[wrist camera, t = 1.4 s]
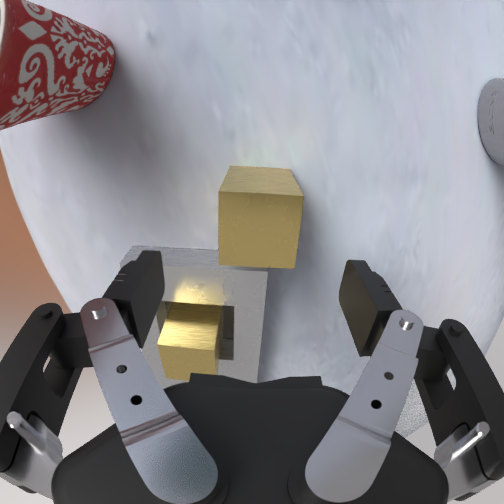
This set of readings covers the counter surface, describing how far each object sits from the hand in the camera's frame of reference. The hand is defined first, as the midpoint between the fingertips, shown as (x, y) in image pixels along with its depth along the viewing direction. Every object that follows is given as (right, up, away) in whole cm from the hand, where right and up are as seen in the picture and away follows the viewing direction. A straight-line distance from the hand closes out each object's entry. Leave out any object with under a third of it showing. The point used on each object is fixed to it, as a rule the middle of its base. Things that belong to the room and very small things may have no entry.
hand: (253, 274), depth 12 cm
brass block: (0, +5, +10) cm, 11 cm away
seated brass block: (-5, -5, +16) cm, 17 cm away
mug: (-16, +16, +5) cm, 23 cm away
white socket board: (-5, -11, +19) cm, 23 cm away
